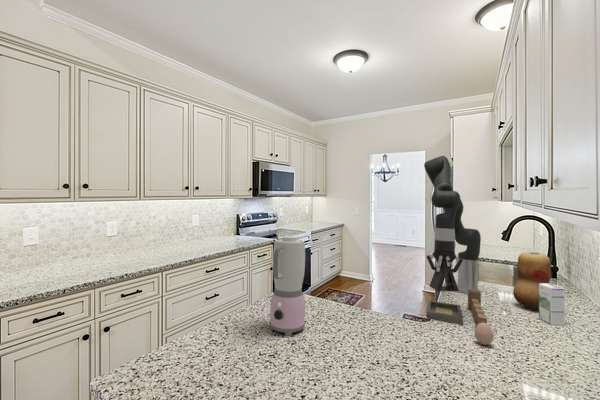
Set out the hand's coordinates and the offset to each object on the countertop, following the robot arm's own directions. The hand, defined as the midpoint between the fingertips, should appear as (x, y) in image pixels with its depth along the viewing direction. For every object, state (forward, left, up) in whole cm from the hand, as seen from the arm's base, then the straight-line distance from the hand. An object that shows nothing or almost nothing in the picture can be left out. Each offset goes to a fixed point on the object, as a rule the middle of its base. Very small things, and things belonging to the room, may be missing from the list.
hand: (443, 281), depth 117 cm
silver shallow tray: (0, 0, -14) cm, 14 cm away
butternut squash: (-29, +36, -14) cm, 48 cm away
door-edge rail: (-2, +12, -14) cm, 18 cm away
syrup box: (-13, +38, -14) cm, 43 cm away
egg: (+22, +11, -14) cm, 28 cm away
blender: (+44, -50, -14) cm, 68 cm away
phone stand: (0, 0, -3) cm, 3 cm away
